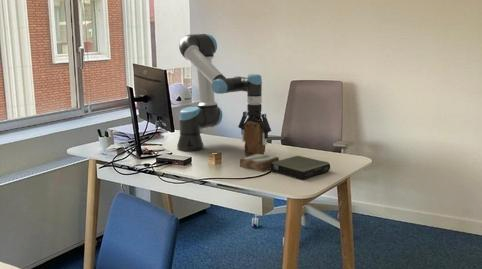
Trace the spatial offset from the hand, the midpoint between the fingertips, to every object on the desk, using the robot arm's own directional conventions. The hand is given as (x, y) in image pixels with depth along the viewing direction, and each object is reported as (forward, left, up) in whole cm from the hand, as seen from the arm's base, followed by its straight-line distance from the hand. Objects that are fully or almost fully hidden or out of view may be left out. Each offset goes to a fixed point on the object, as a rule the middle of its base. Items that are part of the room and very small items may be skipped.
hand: (254, 142), depth 285 cm
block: (0, 0, -8) cm, 8 cm away
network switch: (+35, -9, -8) cm, 37 cm away
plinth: (+13, -13, -8) cm, 20 cm away
